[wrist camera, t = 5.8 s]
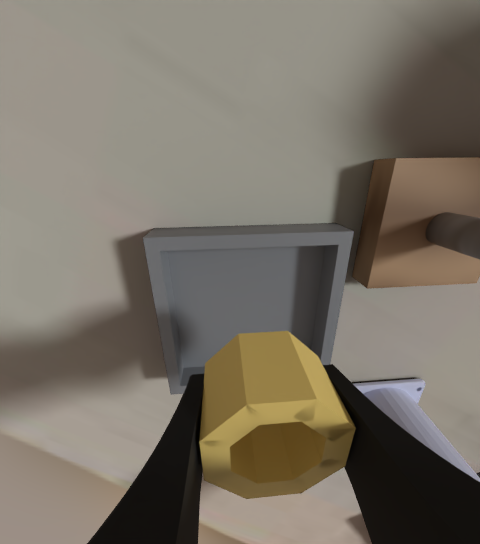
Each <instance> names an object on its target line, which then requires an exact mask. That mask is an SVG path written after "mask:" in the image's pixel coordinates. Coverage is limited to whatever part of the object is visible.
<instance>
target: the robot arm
mask: <svg viewBox="0 0 480 544" xmlns="http://www.w3.org/2000/svg"><path fill="white" fill-rule="evenodd" d="M323 367H324V369H325V370H326V372H327V375H328V376H329V378H330V380H331V382H332V384H333V386H334V387H335V389H336V391H337V393H338V395H339V397H340V399H341V401H342V403H343V404H344V406H345V408H346V410H347V412H348V414H349V416H350V418H351V420H352V421H353V423H354V425H355V427H356V429H355V433H354V436H353V440H352V444H351V447H350V451H349V454H348V458H347V462H346V465H345V470H346V472H347V474H348V477H349V479H350V482H351V484H352V487H353V490H354V492H355V495H356V498H357V501H358V504H359V507H360V509H361V512H362V515H363V518H364V521H365V524H366V527H367V530H368V533H369V536H370V539H371V542H372V544H480V478H479V476H478V475H477V474H476V473H475V472H474V470H473V469H472V468H471V467H470V466H469V465H468V463H467V462H466V461H465V460H464V459H463V457H462V456H461V455H460V454H459V453H458V452H457V450H456V449H455V448H454V447H453V446H452V444H451V443H450V442H449V441H448V440H447V439H446V437H445V436H444V435H443V434H442V433H441V431H440V430H439V429H438V428H437V427H436V426H435V424H434V423H433V422H432V421H431V420H430V418H429V417H428V416H427V415H426V414H425V413H424V411H423V410H422V409H421V408H420V407H419V405H418V402H419V399H420V397H421V394H422V392H423V389H424V387H425V382H424V381H423V380H422V379H407V380H394V381H381V382H368V383H355V384H352V383H351V382H350V381H349V380H348V379H347V378H346V377H345V376H344V375H343V374H342V373H341V372H340V371H339V370H338V369H337V368H336V367H335V366H334V365H333V364H332V365H323ZM203 389H204V374H192V375H191V376H190V378H189V381H188V384H187V386H186V389H185V391H184V394H183V396H182V398H181V400H180V403H179V405H178V407H177V409H176V411H175V413H174V415H173V417H172V419H171V421H170V423H169V425H168V427H167V428H166V430H165V432H164V434H163V436H162V438H161V439H160V441H159V443H158V445H157V446H156V448H155V450H154V451H153V453H152V455H151V456H150V458H149V459H148V461H147V463H146V464H145V466H144V467H143V469H142V470H141V472H140V473H139V475H138V476H137V478H136V479H135V481H134V482H133V484H132V485H131V486H130V488H129V489H128V491H127V492H126V494H125V495H124V497H123V498H122V499H121V501H120V502H119V503H118V505H117V506H116V507H115V509H114V510H113V511H112V513H111V514H110V515H109V516H108V518H107V519H106V520H105V522H104V523H103V524H102V526H101V527H100V528H99V530H98V531H97V532H96V533H95V535H94V536H93V537H92V538H91V540H90V541H89V542H88V543H87V544H198V526H199V504H200V491H201V481H202V472H203V467H202V459H201V451H200V443H199V440H200V426H201V413H202V399H203Z"/></svg>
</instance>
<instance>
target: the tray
mask: <svg viewBox="0 0 480 544" xmlns="http://www.w3.org/2000/svg"><path fill="white" fill-rule="evenodd" d="M353 234H354V231H352V230H350V229H348V228H346V227H343V226H341V225H339V224H337V223H320V224H285V225H251V226H216V227H181V228H154V229H152V230H151V231H150V232H149V233H148V234H147V235H146V236H144V237H143V241H144V247H145V253H146V258H147V264H148V269H149V275H150V281H151V286H152V292H153V298H154V303H155V309H156V314H157V320H158V326H159V331H160V337H161V343H162V348H163V354H164V360H165V365H166V371H167V376H168V382H169V388H170V393H171V394H184V391H185V389H186V386H187V384H188V381H189V378H190V376H191V375H192V374H204V372H205V363H206V362H207V361H208V360H209V359H211V358H212V357H213V356H214V355H215V354H216V353H217V352H218V351H220V350H221V349H222V348H223V347H224V346H225V345H226V344H227V343H229V342H230V341H231V340H232V339H233V338H234V337H235V336H236V335H238V334H242V333H259V332H276V331H289V332H290V333H291V334H292V335H293V336H295V337H296V338H297V339H298V340H299V341H301V342H302V343H303V344H304V345H305V346H307V347H308V348H309V349H310V350H311V351H313V352H314V353H315V354H316V355H317V356H318V357H319V359H320V361H321V363H322V365H330V362H331V356H332V351H333V345H334V340H335V334H336V329H337V323H338V317H339V312H340V306H341V301H342V295H343V290H344V284H345V278H346V273H347V267H348V262H349V256H350V251H351V245H352V239H353Z"/></svg>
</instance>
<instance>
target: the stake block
mask: <svg viewBox="0 0 480 544" xmlns="http://www.w3.org/2000/svg"><path fill="white" fill-rule="evenodd" d="M479 276H480V157H470V158H393V159H379V160H374V165H373V170H372V175H371V180H370V186H369V191H368V196H367V201H366V207H365V212H364V217H363V222H362V227H361V233H360V238H359V243H358V248H357V254H356V259H355V264H354V269H353V275H352V277H353V278H355V279H356V280H357V281H358V282H360V283H361V284H362V285H364V286H365V287H366V288H387V287H407V286H428V285H449V284H469V283H477V281H478V278H479Z"/></svg>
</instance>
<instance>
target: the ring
mask: <svg viewBox="0 0 480 544" xmlns="http://www.w3.org/2000/svg"><path fill="white" fill-rule="evenodd" d="M355 429H356V427H355V425H354V423H353V421H352V420H351V418H350V416H349V414H348V412H347V410H346V408H345V406H344V404H343V403H342V401H341V399H340V397H339V395H338V393H337V391H336V389H335V387H334V386H333V384H332V382H331V380H330V378H329V376H328V375H327V372H326V370H325V369H324V367H323V365H322V363H321V361H320V359H319V357H318V356H317V355H316V354H315V353H314V352H313V351H311V350H310V349H309V348H308V347H307V346H305V345H304V344H303V343H302V342H301V341H299V340H298V339H297V338H296V337H295V336H293V335H292V334H291V333H290V332H289V331H276V332H259V333H242V334H238V335H236V336H235V337H234V338H233V339H232V340H231V341H230V342H229V343H227V344H226V345H225V346H224V347H223V348H222V349H221V350H220V351H218V352H217V353H216V354H215V355H214V356H213V357H212V358H211V359H209V360H208V361H207V362H206V363H205V372H204V389H203V399H202V413H201V426H200V440H199V443H200V451H201V459H202V467H203V476H204V480H205V481H207V482H209V483H211V484H214V485H216V486H218V487H221V488H223V489H225V490H227V491H230V492H232V493H234V494H237V495H239V496H241V497H243V498H246V499H250V498H259V497H269V496H278V495H287V494H297V493H302V492H304V491H305V490H307V489H309V488H310V487H312V486H314V485H315V484H317V483H318V482H320V481H322V480H323V479H325V478H327V477H328V476H330V475H332V474H333V473H335V472H336V471H338V470H340V469H341V468H343V467H345V465H346V462H347V458H348V454H349V451H350V447H351V444H352V440H353V436H354V433H355Z"/></svg>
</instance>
